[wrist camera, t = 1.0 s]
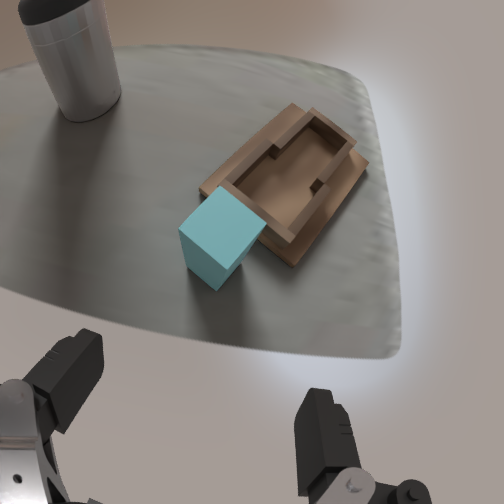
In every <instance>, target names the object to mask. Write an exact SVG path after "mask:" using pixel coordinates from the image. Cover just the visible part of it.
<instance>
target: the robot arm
mask: <svg viewBox="0 0 504 504" xmlns="http://www.w3.org/2000/svg"><path fill="white" fill-rule="evenodd" d="M18 12H19V15H20V18H21V20H22V23H23V26H24V29H25V31H26V34H27V36H28V39H29V41H30V43H31V46H32V48H33V51H34V53H35V55H36V58H37V60H38V62H39V65H40V67H41V69H42V71H43V74H44V76H45V78H46V80H47V82H48V84H49V86H50V89H51V91H52V93H53V95H54V97H55V99H56V101H57V103H58V105H59V107H60V109H61V111H62V113H63V115H64V116H65V117H66V118H67V119H68V120H70V121H74V122H83V121H88V120H91V119H94V118H96V117H98V116H100V115H102V114H104V113H105V112H106V111H108V110H109V109H110V108H111V107H112V106H113V105H114V104H115V103H116V102H117V100H118V98H119V96H120V93H121V85H120V80H119V76H118V72H117V67H116V62H115V57H114V53H113V48H112V43H111V38H110V33H109V28H108V22H107V16H106V10H105V5H104V0H20V2H19V5H18ZM103 369H104V356H103V342H102V336H101V335H100V334H98V333H95V332H92V331H90V330H87V329H85V328H84V329H82V330H80V331H79V332H78V334H77V335H76V336H75V337H74V338H73V337H71V336H68V337H66V338H64V339H62V340H60V341H58V342H57V343H56V344H55V345H54V346H53V347H52V349H51V351H50V350H49V351H48V352H47V353H46V355H45V357H43V358H42V359H41V360H40V361H39V362H38V363H37V364H36V365H35V366H34V367H33V368H32V369H31V371H30V372H29V373H28V374H27V375H26V376H25V377H24V378H23V379H22V380H19V379H11V380H8V381H6V382H4V383H3V384H0V504H102V503H100V502H97V501H95V500H93V499H91V498H89V500H88V502H87V503H80V502H70V500H69V497H68V494H67V492H66V489H65V487H64V485H63V483H62V480H61V477H60V473H59V470H58V465H57V461H56V457H55V453H54V448H53V443H52V438H51V434H52V433H53V431H54V430H57V431H58V432H60V433H62V434H64V433H65V432H66V430H67V429H68V427H69V426H70V424H71V422H72V421H73V419H74V417H75V416H76V414H77V413H78V411H79V410H80V408H81V406H82V405H83V404H84V402H85V401H86V399H87V397H88V396H89V394H90V393H91V391H92V390H93V388H94V387H95V385H96V384H97V382H98V381H99V379H100V378H101V376H102V373H103ZM350 426H351V424H350V420H349V416H348V413H347V412H346V411H345V410H344V408H343V407H342V405H341V404H334V400H333V396H332V392H331V391H330V390H325V389H317V388H310V389H309V391H308V392H307V394H306V397H305V398H304V401H303V403H302V404H301V406H300V408H299V410H298V412H297V414H296V417H295V422H294V433H295V447H296V463H297V479H298V496H305V497H307V496H308V497H309V504H432V502H431V498H430V495H429V491H428V489H427V487H426V486H425V485H424V484H423V483H421V482H420V481H417V480H413V479H411V480H406V481H403V482H402V483H401V484H400V485H398V486H393V485H388V484H383V483H378V482H375V481H374V479H373V477H372V476H371V474H370V473H368V472H367V471H365V470H363V469H362V468H361V464H360V460H359V456H358V452H357V448H356V443H355V439H354V436H353V431H352V428H351V427H350Z"/></svg>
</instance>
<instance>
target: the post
mask: <svg viewBox="0 0 504 504" xmlns="http://www.w3.org/2000/svg"><path fill="white" fill-rule="evenodd" d="M266 224H267V223H266V222H265V221H264V220H262V219H261V218H260V217H259V216H257V215H256V214H255V213H254V212H253V211H251V210H250V209H249V208H248V207H246V206H245V205H244V204H243V203H241V202H240V201H239V200H238V199H236V198H235V197H234V196H233V195H231V194H230V193H229V192H228V191H226V190H225V189H224V188H223V187H221V186H219V187H218V188H217V189H216V190H215V191H214V192H213V193H212V194H211V195H210V196H209V197H208V198H207V199H206V200H205V201H204V202H203V203H202V204H201V205H200V206H199V207H198V208H197V209H196V210H195V211H194V212H193V213H192V214H191V215H190V216H189V217H188V219H187V220H186V221H185V222H184V223H183V224H182V225H181V226H180V227H179V228H178V230H179V235H180V240H181V244H182V249H183V253H184V258H185V262H186V266H187V267H188V268H189V269H190V270H192V271H193V272H194V273H195V274H196V275H197V276H199V277H200V278H201V279H202V280H203V281H205V282H206V283H207V284H208V285H209V286H211V287H212V288H213V289H214V290H215V291H216V292H217V291H218V289H219V288H220V287H221V286H222V285H223V283H224V282H225V281H226V280H227V279H228V277H229V276H230V275H231V274H232V273H233V271H234V270H235V269H236V268H237V267H238V265H239V264H240V263H241V262H242V260H243V259H244V257H245V256H246V254H247V253H248V251H249V250H250V248H251V247H252V245H253V244H254V242H255V241H256V239H257V238H258V236H259V235H260V233H261V231H262V230H263V228H264V227H265V225H266Z"/></svg>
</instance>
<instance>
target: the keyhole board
mask: <svg viewBox="0 0 504 504" xmlns="http://www.w3.org/2000/svg"><path fill="white" fill-rule="evenodd" d="M356 143H357V141H356V140H354V139H353V138H352V137H351V136H350V135H348V134H347V133H346V132H345V131H343V130H342V129H341V128H340V127H338V126H337V125H336V124H334V123H333V122H332V121H330V120H329V119H328V118H326V117H325V116H324V115H322V114H321V113H320V112H318V111H317V110H316V109H314V108H313V107H312V108H311V109H310V110H309V111H308V112H307V113H306V112H305V111H303V110H302V109H301V108H299V107H298V106H296V105H295V104H294V103H291V104H290V105H289V106H288V107H287V108H285V109H284V110H283V111H282V112H281V113H279V114H278V115H277V116H276V117H275V118H274V119H272V120H271V121H270V122H269V123H268V124H267V125H265V126H264V127H263V128H262V129H261V130H260V131H259V132H257V133H256V134H255V135H254V136H253V137H252V138H251V139H250V140H249V141H247V142H246V143H245V144H244V145H243V146H242V147H241V148H240V149H239V150H238V151H236V152H235V153H234V154H233V155H232V156H231V157H230V158H229V159H228V160H227V161H226V162H225V163H224V164H223V165H221V166H220V167H219V168H218V169H217V170H216V171H215V172H214V173H213V174H212V175H211V176H210V177H209V178H208V179H207V180H206V181H205V182H204V183H203V184H202V185H201V186H200V187H199V192H200V193H201V194H203V195H204V196H205V197H206V198H208V197H209V196H210V195H211V194H212V193H213V192H214V191H215V190H216V189H217V188H218V187H219V186H221V187H223V188H224V189H225V190H226V191H228V192H229V193H230V194H231V195H233V196H234V197H235V198H236V199H238V200H239V201H240V202H241V203H243V204H244V205H245V206H246V207H248V208H249V209H250V210H251V211H253V212H254V213H255V214H256V215H257V216H259V217H260V218H261V219H262V220H264V221H265V222H266V223H267V224H266V225H265V227H264V228H263V230H262V231H261V233H260V235H259V236H258V238H257V239H258V240H259V241H260V242H262V243H263V244H264V245H265V246H266V247H268V248H269V249H270V250H271V251H272V252H274V253H275V254H276V255H277V256H278V257H280V258H281V259H282V260H283V261H285V262H286V263H287V264H288V265H289V266H291V267H294V266H295V265H296V264H297V263H298V261H299V260H300V259H301V257H302V256H303V255H304V253H305V252H306V250H307V249H308V248H309V246H310V245H311V244H312V242H313V241H314V240H315V238H316V237H317V236H318V234H319V233H320V232H321V230H322V229H323V227H324V226H325V225H326V223H327V222H328V221H329V219H330V218H331V216H332V215H333V214H334V212H335V211H336V209H337V208H338V207H339V205H340V204H341V202H342V201H343V200H344V198H345V197H346V195H347V194H348V192H349V191H350V190H351V188H352V187H353V185H354V184H355V182H356V181H357V180H358V178H359V177H360V175H361V174H362V172H363V171H364V169H365V168H366V167H367V165H368V164H369V162H368V161H367V160H366V159H365V158H363V157H362V156H361V155H360V154H359V153H358V152H356V151H355V150H354V149H353V147H354V145H355V144H356Z"/></svg>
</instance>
